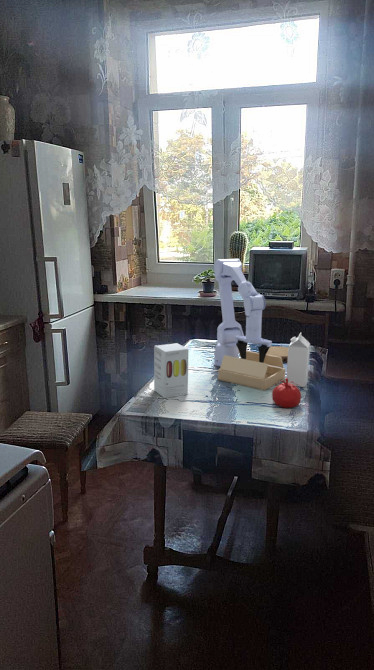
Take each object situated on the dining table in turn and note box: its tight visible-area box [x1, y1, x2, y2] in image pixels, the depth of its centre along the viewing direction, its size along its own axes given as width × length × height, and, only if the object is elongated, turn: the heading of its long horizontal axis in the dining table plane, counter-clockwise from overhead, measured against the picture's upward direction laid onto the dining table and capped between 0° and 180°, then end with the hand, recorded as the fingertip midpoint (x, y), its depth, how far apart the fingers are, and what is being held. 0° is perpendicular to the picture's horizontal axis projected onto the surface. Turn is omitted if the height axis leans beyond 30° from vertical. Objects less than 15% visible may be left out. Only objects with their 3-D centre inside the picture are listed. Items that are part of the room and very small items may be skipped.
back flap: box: [238, 349, 285, 369], centre depth 199 cm, size 19×6×1 cm
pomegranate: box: [271, 377, 302, 409], centre depth 170 cm, size 10×10×9 cm
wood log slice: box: [267, 345, 288, 363], centre depth 225 cm, size 16×16×3 cm
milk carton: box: [286, 332, 311, 388], centre depth 189 cm, size 7×7×19 cm
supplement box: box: [153, 342, 189, 399], centre depth 179 cm, size 10×9×17 cm
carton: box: [217, 365, 286, 391], centre depth 195 cm, size 20×17×4 cm
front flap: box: [219, 355, 268, 378], centre depth 189 cm, size 19×6×1 cm
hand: (252, 362), depth 194 cm, fingers open, 7 cm apart
